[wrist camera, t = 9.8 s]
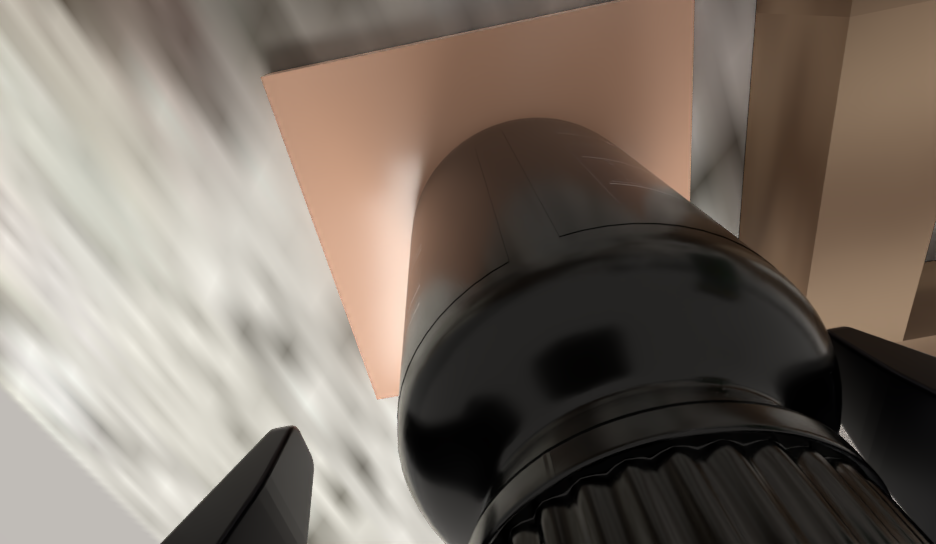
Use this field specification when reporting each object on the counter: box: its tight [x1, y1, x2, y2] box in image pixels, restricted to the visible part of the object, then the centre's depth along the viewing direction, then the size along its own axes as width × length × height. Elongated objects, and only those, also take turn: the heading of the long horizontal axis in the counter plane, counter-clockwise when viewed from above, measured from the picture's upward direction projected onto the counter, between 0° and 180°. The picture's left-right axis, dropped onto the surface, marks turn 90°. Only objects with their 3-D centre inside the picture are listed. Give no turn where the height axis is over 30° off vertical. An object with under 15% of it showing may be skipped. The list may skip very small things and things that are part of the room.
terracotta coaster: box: [261, 0, 695, 400], centre depth 16 cm, size 11×11×1 cm
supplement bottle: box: [397, 118, 934, 544], centre depth 10 cm, size 7×7×12 cm
